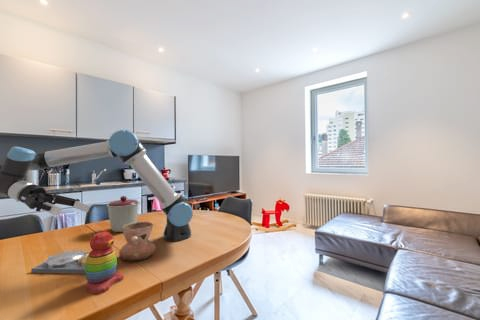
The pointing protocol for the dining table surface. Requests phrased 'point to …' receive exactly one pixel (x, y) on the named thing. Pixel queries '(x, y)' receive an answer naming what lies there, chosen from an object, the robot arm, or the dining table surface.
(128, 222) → the canister
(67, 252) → the gear
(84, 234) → the dining table surface
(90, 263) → the stacking bear
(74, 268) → the gear board
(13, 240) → the dining table surface
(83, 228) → the dining table surface
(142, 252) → the ceramic jug
